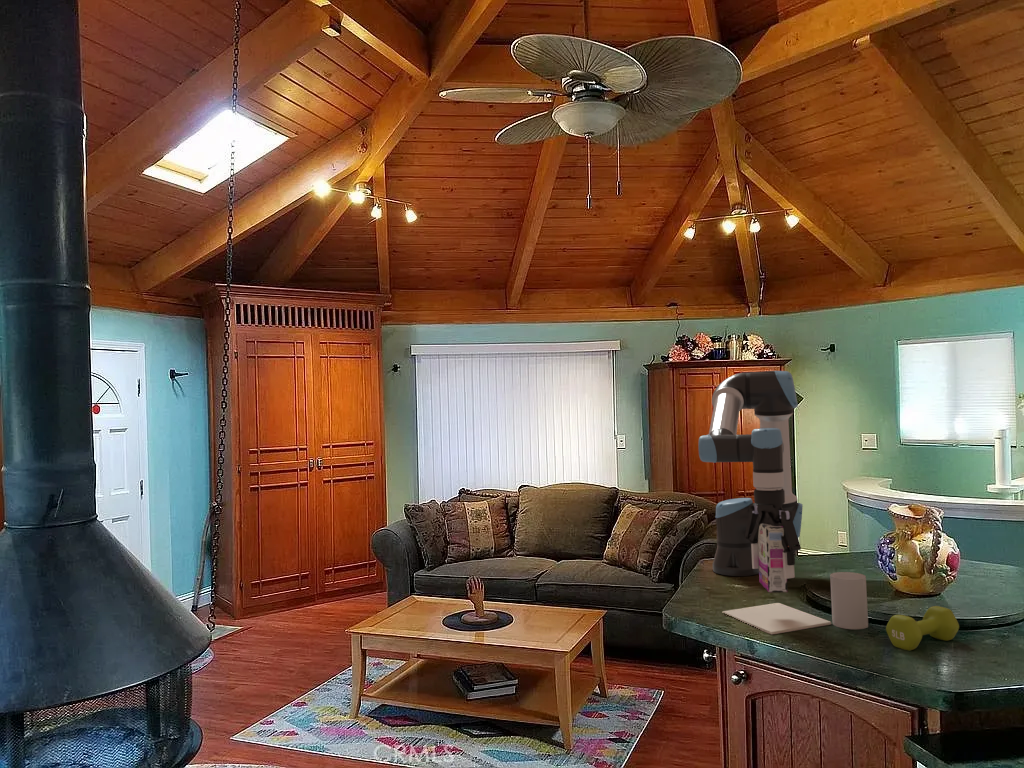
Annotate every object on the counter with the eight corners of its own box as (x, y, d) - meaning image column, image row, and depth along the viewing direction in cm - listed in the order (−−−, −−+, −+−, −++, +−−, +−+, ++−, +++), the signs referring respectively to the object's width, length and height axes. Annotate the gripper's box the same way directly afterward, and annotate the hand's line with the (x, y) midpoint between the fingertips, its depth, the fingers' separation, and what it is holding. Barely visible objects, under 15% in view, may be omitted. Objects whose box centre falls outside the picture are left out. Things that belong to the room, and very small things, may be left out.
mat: (778, 604, 210) (778, 602, 210) (831, 624, 191) (831, 621, 191) (722, 613, 204) (722, 611, 204) (771, 634, 185) (771, 632, 185)
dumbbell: (914, 654, 168) (912, 621, 168) (882, 645, 175) (881, 613, 176) (963, 642, 175) (962, 610, 175) (931, 632, 182) (930, 602, 182)
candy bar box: (789, 593, 192) (786, 527, 192) (768, 593, 193) (765, 527, 193) (778, 582, 203) (775, 519, 203) (758, 582, 204) (755, 520, 204)
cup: (873, 623, 191) (870, 574, 191) (861, 631, 185) (859, 581, 185) (839, 617, 197) (837, 570, 197) (827, 625, 191) (825, 576, 191)
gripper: (813, 491, 188) (817, 580, 188) (751, 483, 211) (755, 562, 211) (788, 494, 186) (792, 584, 185) (728, 485, 208) (732, 565, 208)
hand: (772, 572), depth 198 cm, fingers closed on candy bar box, 12 cm apart
